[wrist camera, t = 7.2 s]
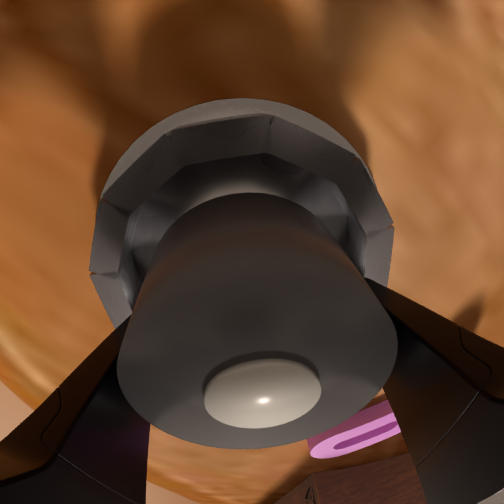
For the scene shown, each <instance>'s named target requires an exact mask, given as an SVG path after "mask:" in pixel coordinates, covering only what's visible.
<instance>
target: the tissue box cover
mask: <svg viewBox="0 0 504 504" xmlns="http://www.w3.org/2000/svg"><path fill="white" fill-rule="evenodd" d="M415 468H416V467H415V466H414V464H413V461H412V458H411V456H410V453H409V452H408V453H405V454H402V455H398V456H395V457H391V458H388V459H384V460H380V461H376V462H372V463H367V464H363V465H358V466H353V467H348V468H343V469H337V470H331V471H324V472H317V473H312V474H311V475H310V476H309V477H307V478H306V479H305V480H304V481H302V482H301V483H300V484H299V485H297V486H296V487H295V488H294V489H292V490H291V491H290V492H288V493H287V494H286V495H285V496H283V497H282V498H280V499H279V500H278V501H276V502H275V503H274V504H427V501H426V498H425V495H424V492H423V489H422V486H421V483H420V481H419V478H418V475H417V472H416V470H415Z"/></svg>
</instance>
